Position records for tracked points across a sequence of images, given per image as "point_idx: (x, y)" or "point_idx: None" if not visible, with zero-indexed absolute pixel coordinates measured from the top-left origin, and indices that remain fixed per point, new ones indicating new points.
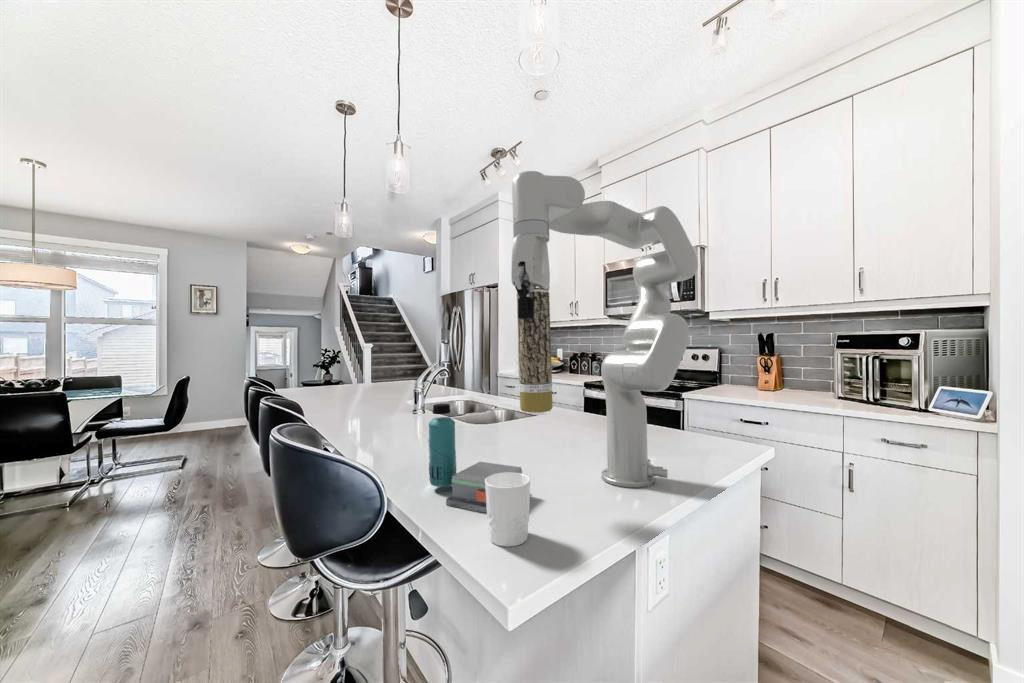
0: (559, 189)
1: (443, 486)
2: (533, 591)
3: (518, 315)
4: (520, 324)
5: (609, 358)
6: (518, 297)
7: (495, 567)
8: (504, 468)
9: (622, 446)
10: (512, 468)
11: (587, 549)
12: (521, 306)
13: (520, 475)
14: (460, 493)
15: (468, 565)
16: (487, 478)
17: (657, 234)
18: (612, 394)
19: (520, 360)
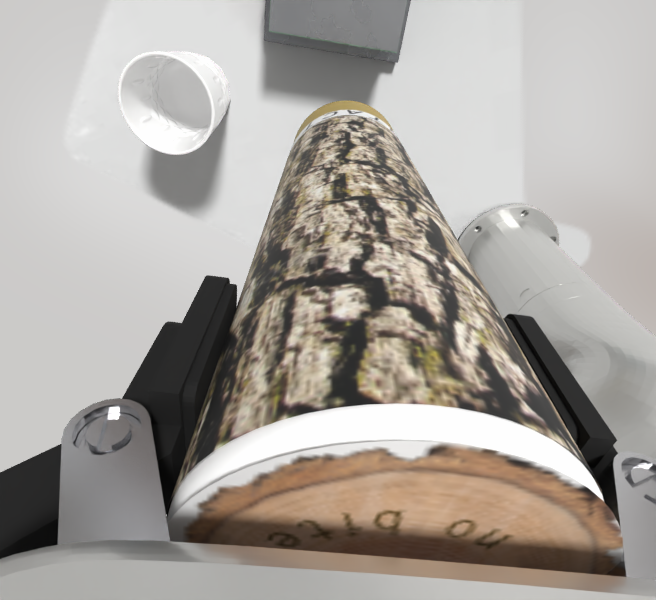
0: None
1: None
2: (97, 170)
3: (202, 284)
4: (261, 250)
5: (651, 414)
6: (93, 418)
7: (112, 103)
8: (378, 3)
9: (491, 281)
10: (382, 28)
11: (217, 214)
12: (148, 366)
13: (211, 122)
14: None
15: (93, 57)
16: (154, 55)
17: None
18: (559, 336)
19: (293, 162)
